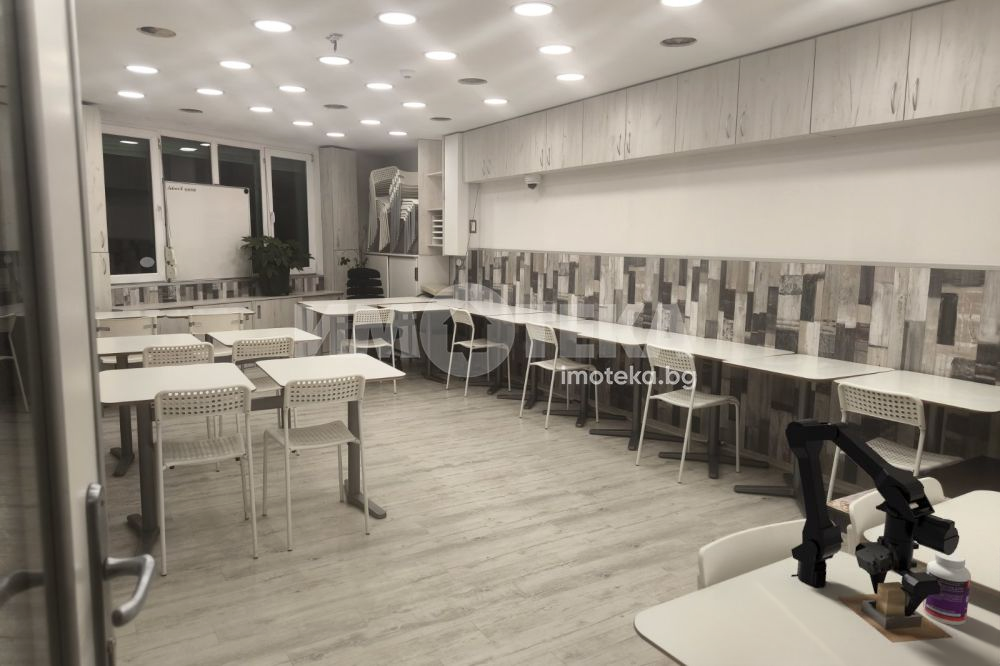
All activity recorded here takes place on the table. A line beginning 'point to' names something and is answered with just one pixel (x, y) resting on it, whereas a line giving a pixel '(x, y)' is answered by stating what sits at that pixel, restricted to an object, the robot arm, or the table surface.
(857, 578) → the table surface
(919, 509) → the robot arm
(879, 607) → the tan wooden brick
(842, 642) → the table surface
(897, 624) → the tin
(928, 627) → the board
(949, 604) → the pill bottle
